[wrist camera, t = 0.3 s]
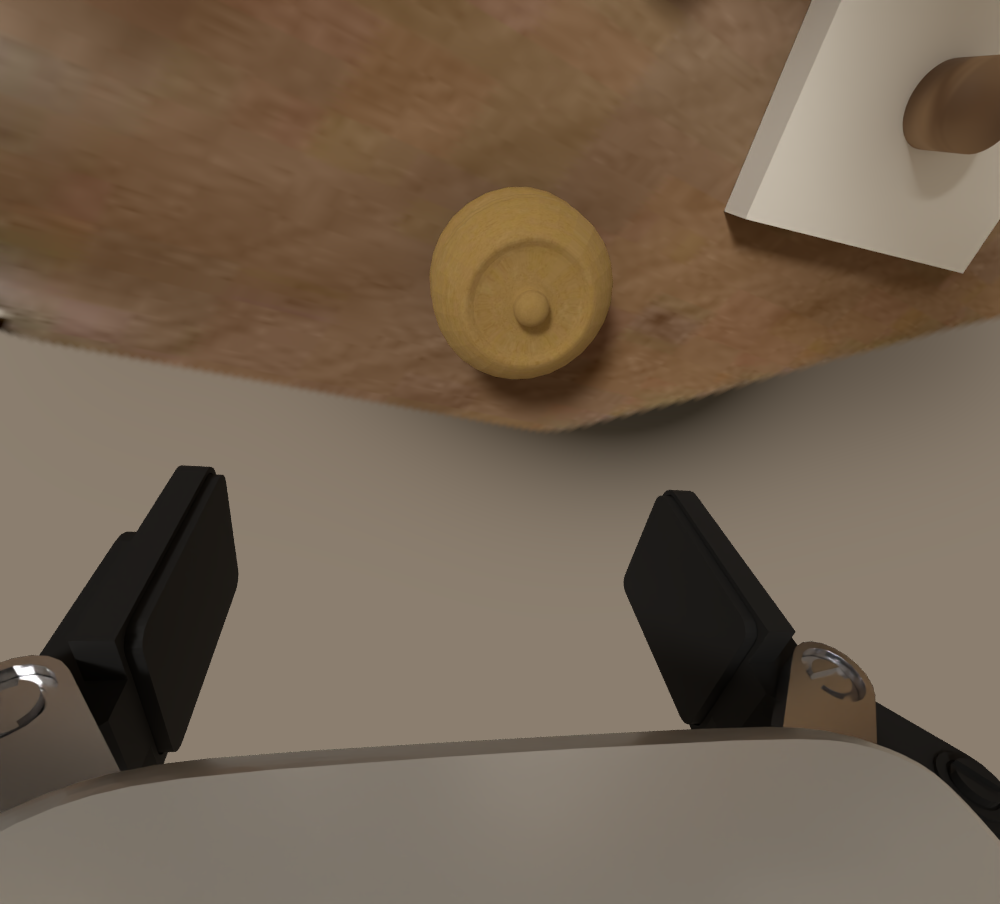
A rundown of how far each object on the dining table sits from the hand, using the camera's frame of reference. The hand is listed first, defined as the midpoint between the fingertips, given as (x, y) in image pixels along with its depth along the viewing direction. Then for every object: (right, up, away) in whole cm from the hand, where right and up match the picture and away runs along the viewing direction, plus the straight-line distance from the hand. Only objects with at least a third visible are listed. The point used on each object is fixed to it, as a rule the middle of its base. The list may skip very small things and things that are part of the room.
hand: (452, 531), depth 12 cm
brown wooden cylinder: (+30, +24, +23) cm, 44 cm away
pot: (+2, +16, +28) cm, 32 cm away
